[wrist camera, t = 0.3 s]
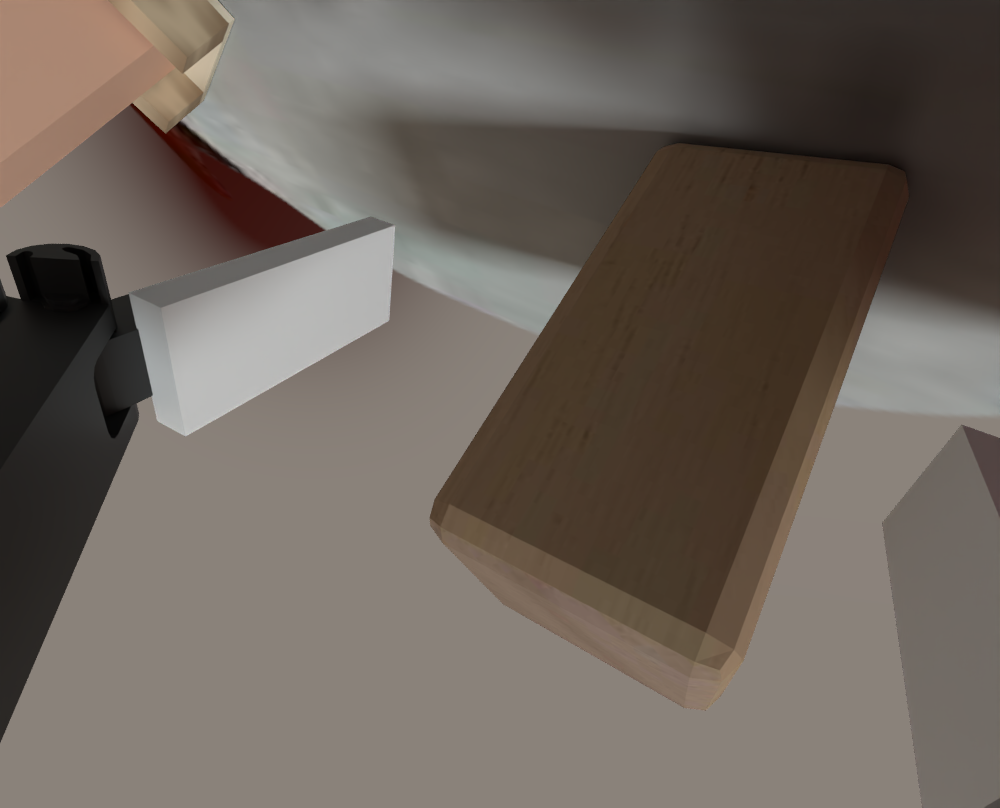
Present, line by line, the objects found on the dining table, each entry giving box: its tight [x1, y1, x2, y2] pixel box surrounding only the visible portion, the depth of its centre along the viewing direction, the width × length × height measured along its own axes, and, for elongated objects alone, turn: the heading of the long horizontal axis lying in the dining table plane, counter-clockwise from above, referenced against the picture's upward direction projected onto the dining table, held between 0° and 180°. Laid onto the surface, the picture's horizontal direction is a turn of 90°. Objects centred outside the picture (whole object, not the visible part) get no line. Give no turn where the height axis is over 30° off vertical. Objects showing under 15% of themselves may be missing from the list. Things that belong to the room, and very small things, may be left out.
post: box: [0, 0, 176, 208], centre depth 32 cm, size 6×6×16 cm
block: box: [430, 143, 909, 711], centre depth 23 cm, size 10×10×20 cm
